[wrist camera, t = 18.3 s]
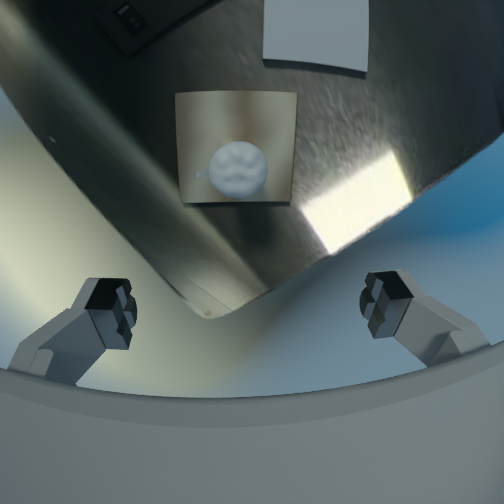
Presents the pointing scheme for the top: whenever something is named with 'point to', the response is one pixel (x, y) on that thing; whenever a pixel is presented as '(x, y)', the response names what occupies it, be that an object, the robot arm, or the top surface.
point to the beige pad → (234, 122)
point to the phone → (142, 20)
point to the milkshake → (237, 167)
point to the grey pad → (317, 32)
